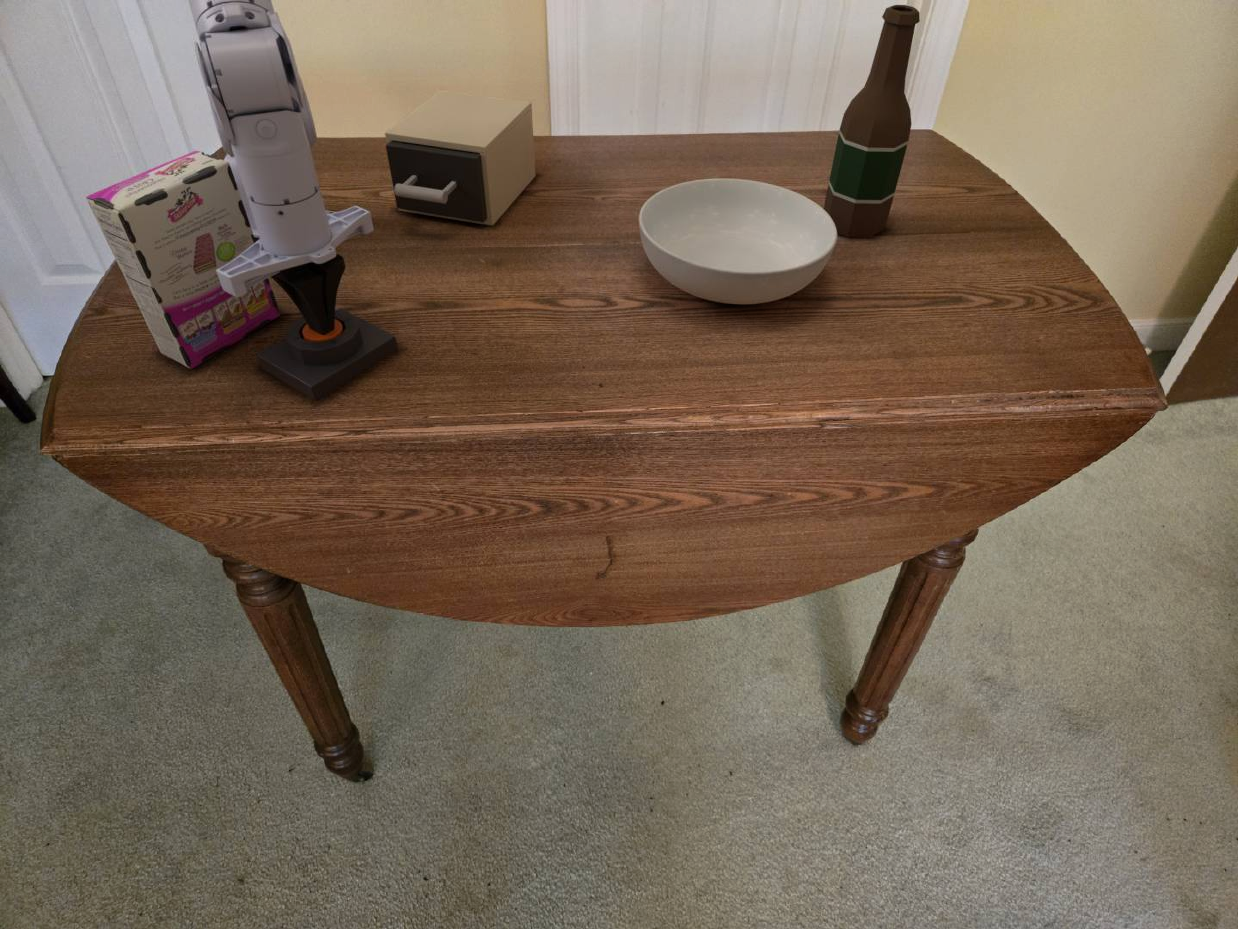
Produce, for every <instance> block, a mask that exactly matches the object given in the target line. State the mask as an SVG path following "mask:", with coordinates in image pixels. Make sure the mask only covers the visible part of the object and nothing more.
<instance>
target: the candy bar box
mask: <svg viewBox="0 0 1238 929" xmlns="http://www.w3.org/2000/svg"><path fill="white" fill-rule="evenodd" d="M85 198H86V200H87V203H88V204H89V206H90V209H91V211H92V213H93V215H94V217H95V219H96V221H97V223H98V226H99V227H100V229H101V232H102V233H103V236H104V237H105V240H106V242H107V244H108V246H109V248H110V250H111V252H112V255H113V257H114V259H115V261H116V263H117V265H118V267H119V269H120V270H121V273H122V275H123V277H124V280H125V282H126V284H127V286H128V288H129V291H130V292H131V294H132V295H131V296H132V297H133V298H134V300H135V303H136V304H137V307H138V309H139V311H140V313H141V315H142V317H143V319H144V321H145V324H146V325H147V328H148V330H149V332H150V334H151V336H152V339H153V341H154V342H155V344H156V347H157V350H159V352H160V354H161V355H163V356H164V357H166V358H168V359H170V360H172V361H175V362H176V363H178V364H180V365H182V366H183V367H185V368H187V369H189V370H192V369H195V368H197V367H198V366H200V365H201V364H203V363H205V362H207V361H208V360H210V359H211V358H213V357H216V355H219V354H220V353H221V352H224V351H225V350H227V349H228V348H229V347H231V346H233V345H234V344H236V343H238V342H240V341H241V340H243V339H245V338H246V337H248V336H250V335H251V334H252V333H254V332H256V331H258V330H259V329H261V328H262V327H264V326H266V325H267V324H269V323H271V322H272V321H274V320H276V319H277V318H279V317H280V316H281V311H280V309H279V306H278V303H277V300H276V297H275V294H274V291H273V288H272V285H271V282H270V279H269V278H267V279H265V280H263V281H261V282H259V283H257V284H255V285H253V286H251V287H248V288H246V289H247V293H246V294H244V295H242V296H240V297H238V298H237V297H235V296H233V295H231V294H229V293H227V292H226V291H224V290H223V288H222V285H221V283H220V280H219V277H218V275H217V272H216V270H217V269H219V268H221V267H223V266H225V265H226V264H228V263H230V262H231V261H232V260H234V259H235V258H236V257H238V256H239V255H240V254H242V253H243V252H244V251H245V250H247V249H248V248H249V247H250V246H252V245H253V244H254V243H255V242H257V241H256V237H254V235H253V231H252V229H251V226H250V223H249V220H248V217H247V214H246V211H245V208H244V205H243V202H242V199H241V196H240V193H239V191H238V188H237V184H236V181H235V178H234V175H233V172H232V170H231V167H230V164H229V162H228V161H225V160H224V159H222V158H219V157H216V156H213V155H211V154H209V153H207V154H205V152H204V151H200V150H193V151H192V152H189V153H187V154H185V155H181V156H179V157H176V158H175V159H172V160H170V161H169V160H168V161H167V162H165V163H162V164H160V165H158V166H154V167H153V168H150V169H148V170H146V171H143V172H141V173H138V174H136V175H133V176H131V177H129V178H126V179H124V180H121V181H120V182H117V183H115V184H112V185H110V186H108V187H105V188H103V189H100V190H98V191H96V192H93V193H90V194H88V195H86V196H85Z"/></svg>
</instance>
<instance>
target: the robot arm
mask: <svg viewBox="0 0 1238 929" xmlns="http://www.w3.org/2000/svg"><path fill="white" fill-rule="evenodd" d="M188 4H189V7H190V10H191V14H192V18H193V21H194V25H195V29H196V32H197V36H198V40H199V43H198V42H197V41H195V42H194V51H195V52H194V53H195V56H196V60H197V63H198V67H199V72H200V74H201V77H202V81H203V85H204V87H205V90H206V93H207V97H208V100H209V106H210V111H211V114H212V117H213V121H214V124H215V127H216V132H217V134H218V137H219V140H220V144H221V146H222V149H223V152H224V153H225V154H226V155H225V156H224V159H223V160H225V161H228V162H229V164H230V167H231V170H232V172H233V175H234V178H235V181H236V184H237V188H238V191H239V193H240V196H241V199H242V202H243V205H244V208H245V211H246V214H247V217H248V220H249V223H250V226H251V229H252V231H253V235H254V238H255V239H258V240H257V241H256V242H255V243H254V244H253V245H252V246H250V247H249V248H248V249H247V250H245V251H244V252H243V253H242V254H240V255H239V256H238V257H236V258H235V259H234V260H232V261H231V262H230V263H228V264H226V265H225V266H223V267H221V268H219V269H217V270H216V272H217V275H218V277H219V280H220V283H221V285H222V288H223V290H224V291H226V292H227V293H229V294H231V295H233V296H235V297H237V298H238V297H240V296H242V295H244V294H246V293H247V289H246V288H248V287H251V286H253V285H255V284H257V283H259V282H261V281H263V280H265V279H267V278H268V279H269V278H271V280H273V281H274V282H275V283H276V284H277V285H278V286H279V287H280V288H281V290H283V291H284V293H286V295H287V296H288V297H289V298H290V300H291V301H292V302H293V303H294V305H295V306H296V307H297V309H298V311H299V312H300V314H301V315H302V316H303V317H304V318H305V320H306V322H307V324H308V326H309V328H310V329H312V330H313V331H315V332H317V333H319V334H321V335H326V334H327V333H329V332H331V331H333V330H334V328H335V311H336V304H337V296H338V291H339V287H340V284H341V279H342V277H343V275H344V273H345V271H346V263H345V259H344V256H342V255H341V254H339V253H337V250H336V248H337V247H338V246H339V245H340V244H341V243H343V242H345V241H347V240H348V239H351V238H353V237H355V236H357V235H359V234H362V235H369V234H370V233H373V232H374V231H375V230H374V224H373V220H372V215H371V211H369V210H367V209H365V208H363V207H361V206H358V205H353V206H351V207H349V208H346V209H342V210H339V211H333V210H328V209H326V207H325V203H324V199H323V195H322V191H321V186H320V183H319V179H318V178H319V177H318V174H317V172H316V171H317V170H316V166H315V161H314V158H313V154H312V150H311V147H315V144H316V143H317V141H318V136H317V130H316V126H315V123H314V122H315V121H314V117H313V114H312V110H311V106H310V103H309V99H308V95H307V93H306V90H305V87H304V84H303V81H302V78H301V75H300V73H299V70H298V69H299V68H298V65H297V62H296V59H295V55H294V51H293V48H292V44H291V42H290V40H289V38H288V36H287V33H286V31H285V28H284V27H283V25H282V23H281V19H280V16H279V14H278V12H277V11H276V12H275V10H274V5H273V3H272V0H188Z"/></svg>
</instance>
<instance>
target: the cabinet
mask: <svg viewBox="0 0 1238 929" xmlns="http://www.w3.org/2000/svg"><path fill="white" fill-rule="evenodd" d="M532 106H533V104H532V102H531V101H527V100H519V99H511V98H503V97H496V96H490V95H489V96H487V95H481V94H474V93H467V92H465V93H464V92H457V91H450V90H442V89H439V90H438V91H436V92H435V93H434V94H432V95H431V96H430V97H428V98H427V99H426V100H425V101H424V102H422V103H420V105H419V106H417V107H416V108H414V109H413V110H412V111H411V112H409V113H408V114H407V115H406V116H404V117H403V118H402V119H400V120H399V121H398V122H397V123H395V124H394V125H393V126H392V127H390V128H389V129H388V130H386V131H385V132H384V137H385V143H386V145H387V144H388V143H389V142H390V141H391V142H398V143H402V142H407V143H414V144H421V145H428V146H435V147H442V148H449V149H456V150H462V151H469V152H476V153H480V155H481V161H482V171H483V181H484V191H485V200H486V210H487V219H486V220H485V221H484V222H477V221H471V220H465V219H459V218H453V217H447V216H440V215H434V214H428V213H422V212H416V211H410V210H404V209H398V208H397V210H398V211H401V212H406V213H412V214H420V215H423V216H424V215H425V216H431V217H437V218H444V219H450V220H457V221H461V222H467V223H468V222H469V223H473V224H480V225H485V226H491V227H492V226H494V225H495V224H496V223H497V222H498V220H499V219H500V218H501V217H502V216H503V215H504V213H505V212H506V211H507V210H508V209H509V208H510V207H511V205H512V204H513V203H514V202H515V201H516V200H517V198H518V197H519V196H520V195H521V194H522V193H523V191H524V190H525V189H526V188H527V187H528V185H530V183H531V182H532V181H533V180H534V178H536V162H535V161H536V159H535V143H534V142H535V141H534V140H535V139H534V122H533V109H532V108H533V107H532Z"/></svg>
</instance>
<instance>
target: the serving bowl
mask: <svg viewBox="0 0 1238 929" xmlns="http://www.w3.org/2000/svg"><path fill="white" fill-rule="evenodd" d="M638 214H639V215H638V227H639V228H638V229H639V236H640V241H641V245H642V247H643V250H644V252H645V255H646V257H647V259H648V261H649V262H650V264H651V265H652V267H653V268H654V269H655V270H656V271H657V272H658V273H659V275H660V276H661V277H663V278H664V279H665V280H666V281H667V282H668V283H670V284H671V285H673V287H676V288H678V289H679V290H681V291H683V292H685V293H687V294H689V295H692V296H694V297H696V298H700V299H704V300H706V301H712V302H716V303H722V304H729V305H730V304H731V305H756V304H764V303H769V302H774V301H778V300H781V299H784V298H786V297H790V296H793V294H795V293H797V292H799V291H801V290H803V289H804V288H805V287H808V285H810V284H811V283H812V282H813V281H815V279H817V277H818V276H819V275H820V274H821V273H822V272H823V270H824V269H825V267H826V266H827V264H828V262H829V260H830V259H831V257H832V254H833V253H834V252H833V251H834V249H835V248H836V245H837V241H838V233H837V229H836V226H835V224H834V222H833V220H832V218H831V217H830V216H829V214H828V213H827V212H826V211H825V210H824V207H822V206H821V205H819V204H817V203H816V202H815V201H813V200H812V199H810V198H809V197H806V196H804V195H802V194H800V193H798V192H796V191H793V190H791V189H788V188H785V187H782V186H778V185H776V184H772V183H769V182H768V183H767V182H762V181H759V180H758V181H757V180H751V179H743V178H724V177H723V178H704V179H695V180H690V181H685V182H680V183H677V184H674V185H671V186H669V187H666V188H664V189H662V190H660V191H658V192H656V193H654V194H653V195H652V196H651V197H649V198H647V200H646V201H645V202H644V203H643V205H642V207H641V208H640V210H639V213H638Z"/></svg>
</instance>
